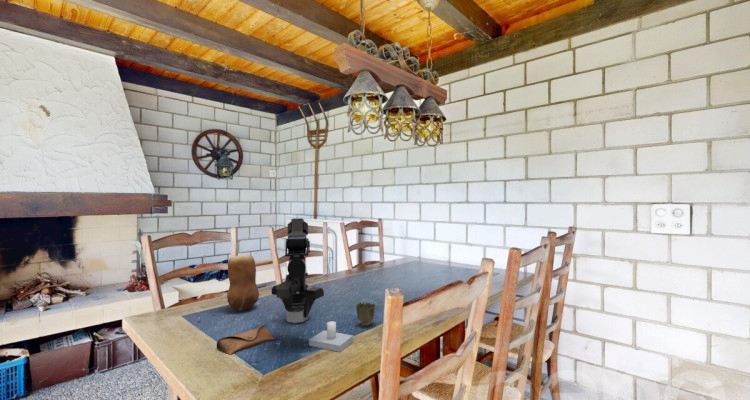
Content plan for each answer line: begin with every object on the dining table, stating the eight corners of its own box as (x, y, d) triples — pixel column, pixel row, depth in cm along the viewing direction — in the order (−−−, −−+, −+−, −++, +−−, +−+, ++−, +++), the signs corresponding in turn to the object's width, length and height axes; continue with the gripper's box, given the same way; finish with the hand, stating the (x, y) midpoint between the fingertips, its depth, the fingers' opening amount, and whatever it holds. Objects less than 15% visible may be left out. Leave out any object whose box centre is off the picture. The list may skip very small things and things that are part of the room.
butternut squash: (237, 304, 159) (237, 252, 159) (264, 305, 157) (263, 252, 157) (220, 314, 145) (220, 257, 145) (249, 315, 143) (248, 257, 143)
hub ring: (282, 320, 114) (282, 310, 114) (295, 314, 120) (295, 304, 120) (299, 323, 111) (299, 313, 111) (311, 317, 117) (311, 307, 117)
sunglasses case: (228, 356, 104) (223, 335, 106) (219, 362, 108) (214, 341, 110) (278, 338, 118) (272, 320, 120) (268, 344, 122) (263, 326, 124)
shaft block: (309, 345, 112) (309, 324, 112) (324, 335, 120) (324, 316, 120) (339, 352, 106) (339, 330, 107) (353, 341, 115) (353, 321, 115)
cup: (373, 329, 126) (372, 308, 126) (354, 328, 127) (353, 307, 127) (376, 322, 133) (376, 302, 133) (359, 321, 134) (358, 301, 134)
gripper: (259, 273, 112) (260, 319, 112) (304, 278, 104) (305, 327, 104) (282, 267, 122) (282, 310, 122) (324, 271, 114) (324, 316, 114)
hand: (297, 315), depth 115 cm, fingers closed on hub ring, 7 cm apart
